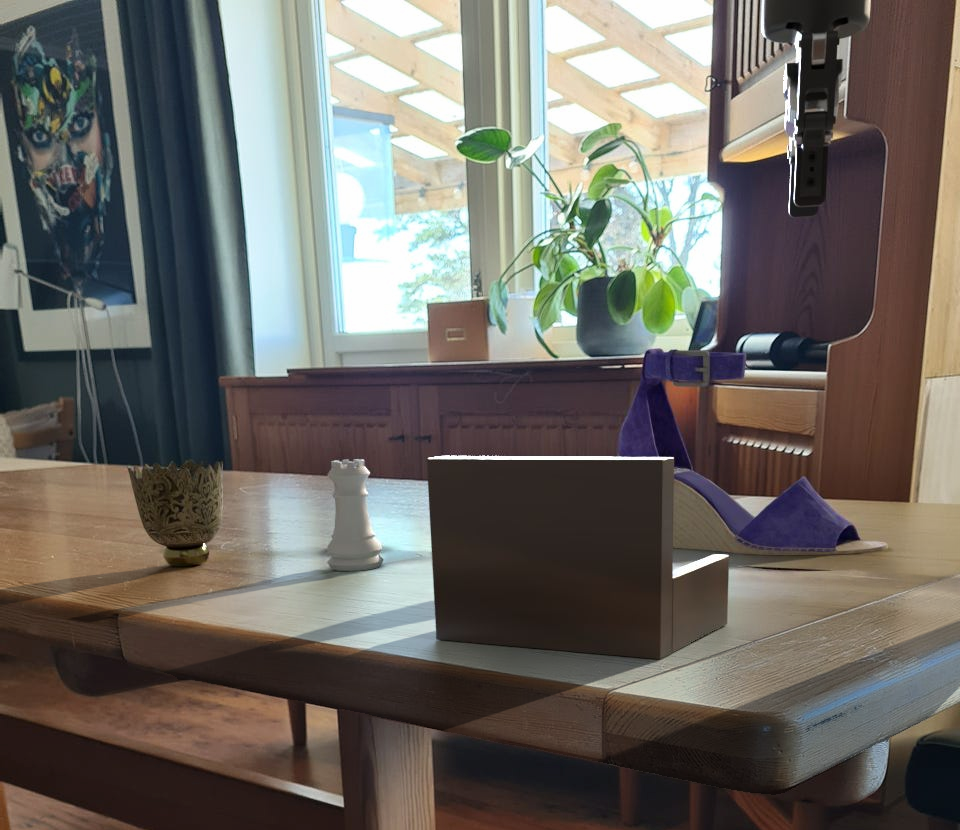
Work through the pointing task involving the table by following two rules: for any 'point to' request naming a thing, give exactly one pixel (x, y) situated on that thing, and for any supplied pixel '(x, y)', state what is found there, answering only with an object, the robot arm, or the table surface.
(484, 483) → the brown stepped block
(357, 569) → the rook chess piece
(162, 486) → the cup
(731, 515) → the sandal
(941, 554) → the table surface
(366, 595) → the table surface
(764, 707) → the table surface
